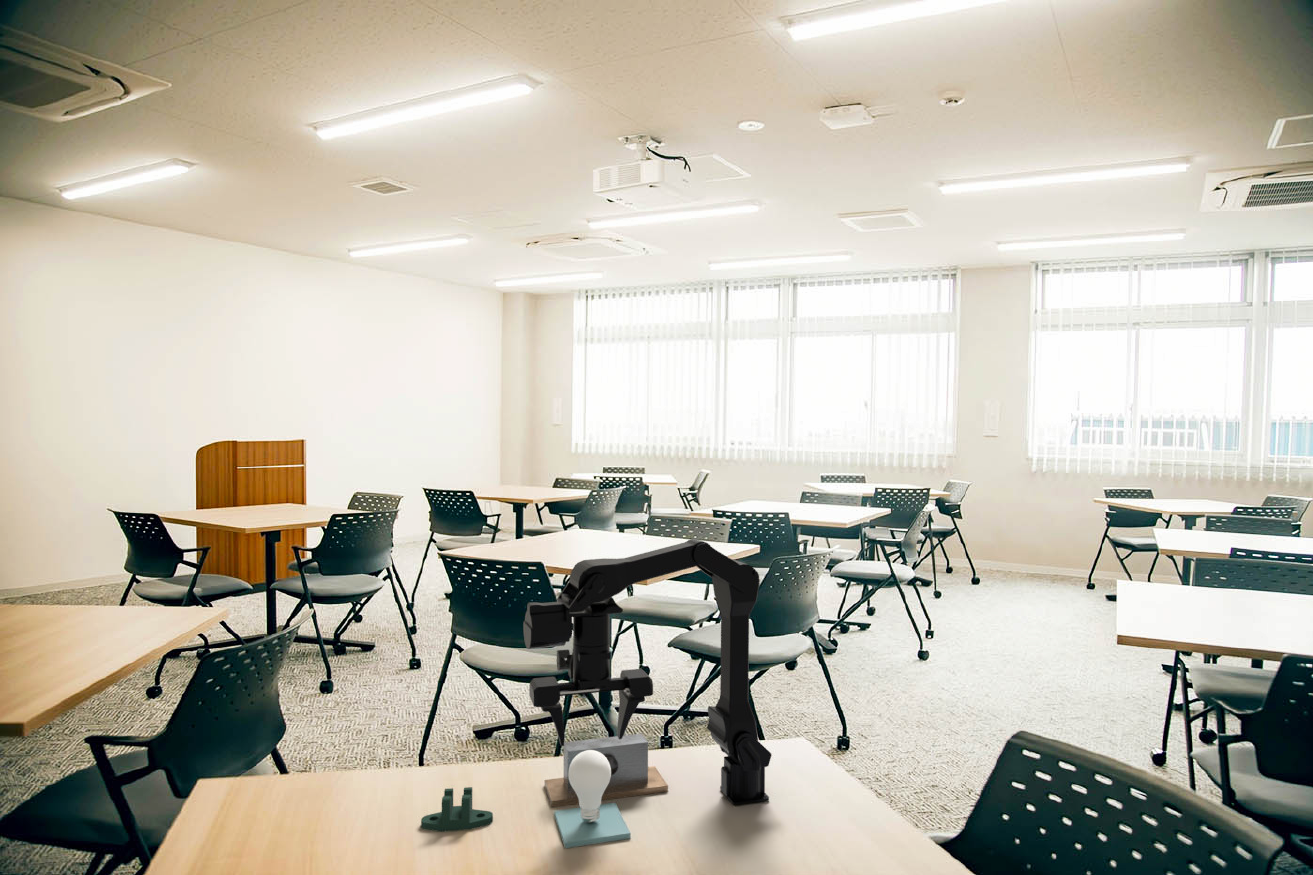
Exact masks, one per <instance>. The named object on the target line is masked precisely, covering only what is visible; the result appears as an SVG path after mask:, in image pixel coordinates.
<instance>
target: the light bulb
mask: <svg viewBox="0 0 1313 875" xmlns="http://www.w3.org/2000/svg"><path fill="white" fill-rule="evenodd" d="M568 776H569V781H570V784H571V786H572V788H573V789H574V791H575V792H576V794H577V796H578V799H579V807H581V817H582V820H583V821H585V822H588V823H592V822H595V821H596V820H598V819H599V817H600V809H599V806H600V805H601V804H602V800H601V798H602V795H603V793H604V791H605V789H606V787H607V786H608V784H609V781H610V778H611V767H610V764H609V762H608V760H607V758H606V757H605V756H604V755H603V754H602V753H600V752H598V751H595V750H586V751H583V752H581V753H579V754H578V755H576V756H575V758H574V759H573V760H572V762H571V764H570V767H569V772H568Z"/></svg>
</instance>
